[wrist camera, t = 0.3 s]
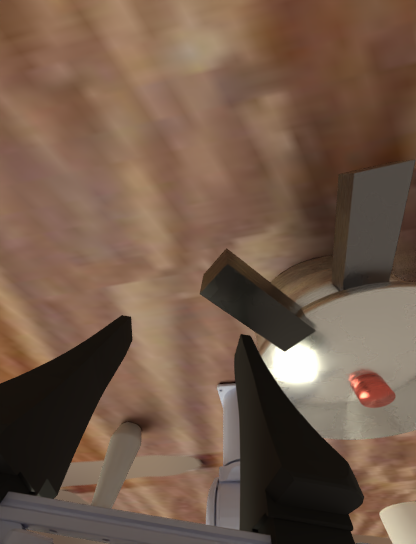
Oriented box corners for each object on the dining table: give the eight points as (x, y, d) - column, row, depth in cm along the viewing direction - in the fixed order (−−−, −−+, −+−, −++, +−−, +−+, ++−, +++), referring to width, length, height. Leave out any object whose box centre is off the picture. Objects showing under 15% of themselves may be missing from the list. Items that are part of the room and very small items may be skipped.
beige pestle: (136, 418, 36) (95, 531, 24) (150, 433, 38) (118, 543, 27) (111, 421, 37) (60, 530, 26) (126, 436, 40) (86, 542, 28)
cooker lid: (525, 363, 15) (583, 398, 13) (332, 440, 22) (346, 471, 20) (322, 138, 10) (355, 124, 7) (152, 333, 17) (140, 359, 14)
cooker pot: (382, 357, 25) (436, 416, 19) (259, 366, 27) (270, 422, 21) (434, 146, 15) (588, 122, 9) (233, 192, 17) (239, 199, 11)
